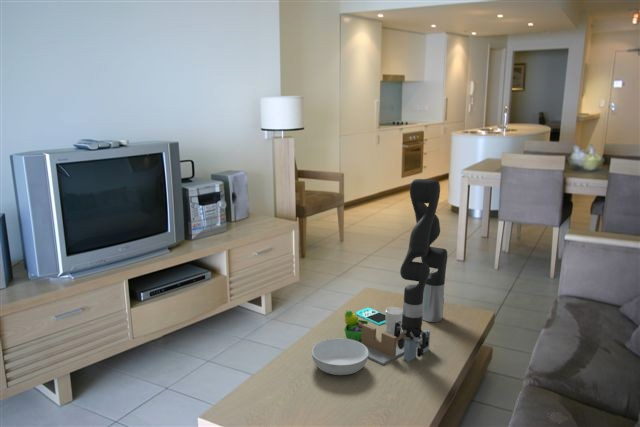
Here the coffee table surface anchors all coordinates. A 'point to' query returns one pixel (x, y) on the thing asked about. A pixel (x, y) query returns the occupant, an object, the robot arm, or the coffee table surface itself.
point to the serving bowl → (340, 356)
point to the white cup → (392, 319)
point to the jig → (380, 345)
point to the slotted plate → (412, 348)
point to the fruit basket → (353, 326)
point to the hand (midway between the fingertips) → (410, 352)
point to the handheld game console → (372, 316)
